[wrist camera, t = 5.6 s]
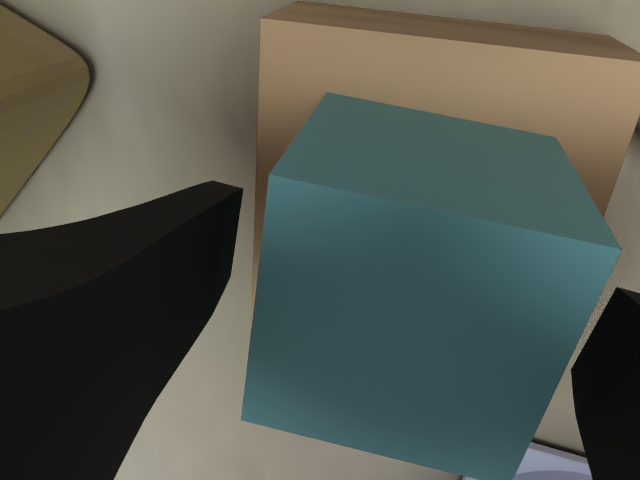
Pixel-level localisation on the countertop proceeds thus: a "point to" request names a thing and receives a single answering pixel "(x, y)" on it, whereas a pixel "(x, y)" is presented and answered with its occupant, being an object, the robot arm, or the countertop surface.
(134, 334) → the robot arm
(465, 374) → the teal block
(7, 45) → the cheese
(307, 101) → the oak block
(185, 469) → the countertop surface
